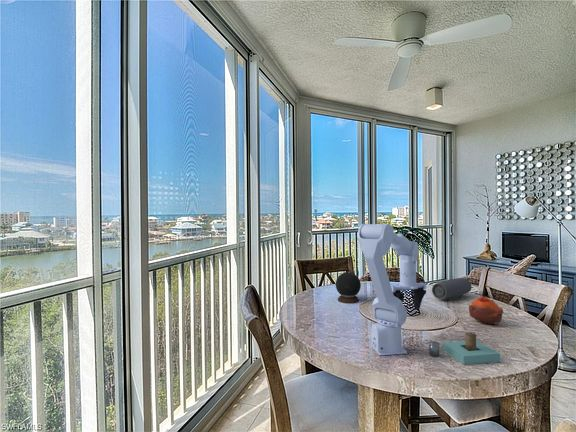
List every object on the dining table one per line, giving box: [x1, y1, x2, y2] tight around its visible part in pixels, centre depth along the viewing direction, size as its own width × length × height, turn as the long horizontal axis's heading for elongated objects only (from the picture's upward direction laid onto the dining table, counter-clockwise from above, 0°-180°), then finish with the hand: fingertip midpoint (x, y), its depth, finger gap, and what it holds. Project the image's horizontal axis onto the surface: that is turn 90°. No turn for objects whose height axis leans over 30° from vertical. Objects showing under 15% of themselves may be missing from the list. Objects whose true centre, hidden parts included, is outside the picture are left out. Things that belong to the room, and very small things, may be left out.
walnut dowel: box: [464, 331, 477, 351], centre depth 96 cm, size 3×3×7 cm
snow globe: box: [335, 271, 362, 305], centre depth 161 cm, size 13×13×15 cm
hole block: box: [442, 339, 501, 365], centre depth 97 cm, size 12×10×2 cm
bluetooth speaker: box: [431, 277, 472, 301], centre depth 161 cm, size 23×9×10 cm, turn 120°
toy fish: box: [468, 295, 504, 325], centre depth 124 cm, size 12×10×11 cm
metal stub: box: [428, 340, 440, 358], centre depth 98 cm, size 3×3×4 cm
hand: (408, 309), depth 113 cm, fingers open, 7 cm apart
